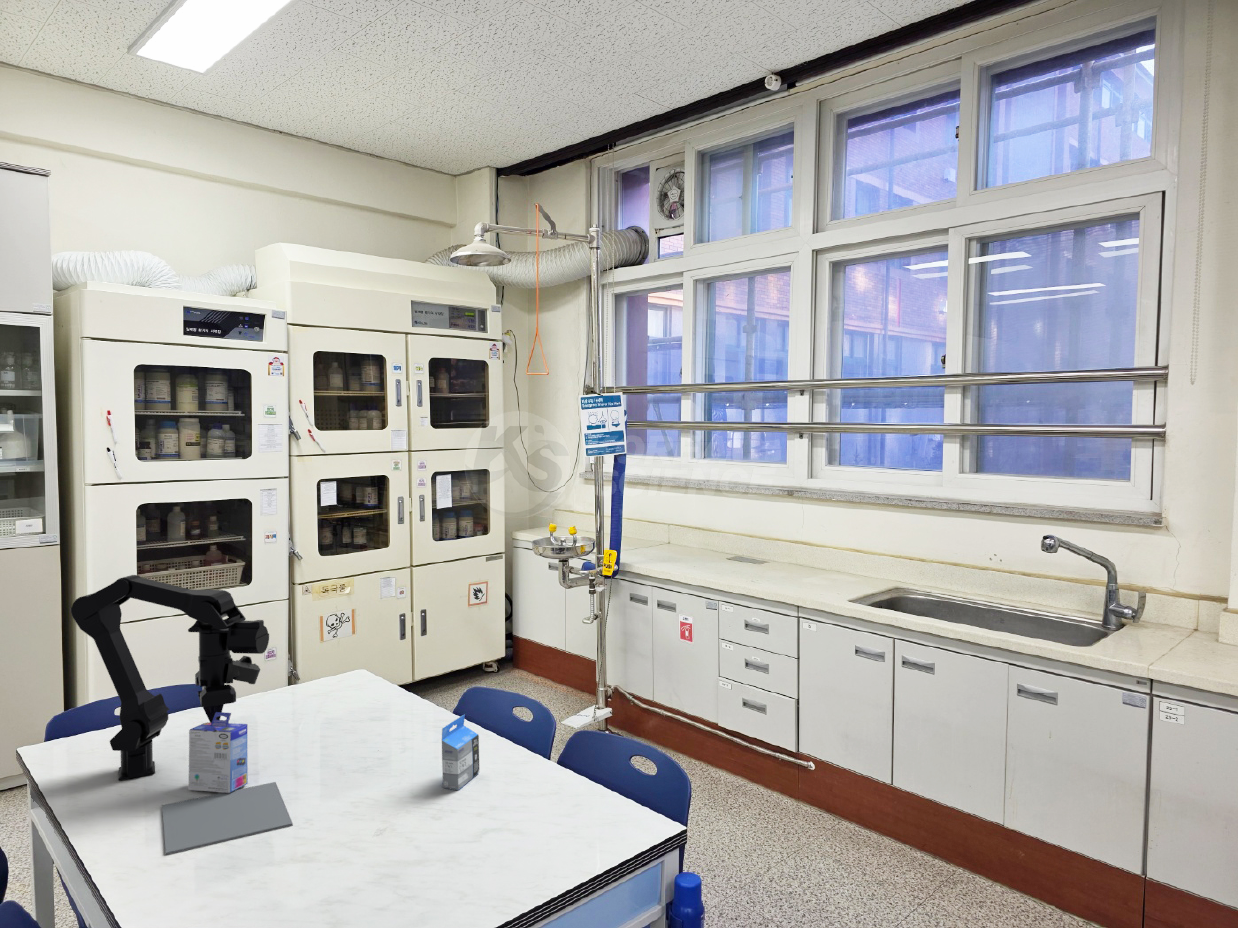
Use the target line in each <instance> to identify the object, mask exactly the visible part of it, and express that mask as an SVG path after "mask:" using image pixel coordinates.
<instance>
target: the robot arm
mask: <svg viewBox="0 0 1238 928" xmlns="http://www.w3.org/2000/svg"><path fill="white" fill-rule="evenodd" d="M130 599H135V600H138V601H143V602H147V603H151V604H154V605H155V604H156V605H159V606H163V607H167V608H172V609H176V610H178V611H181V612H183V613H184V614H186V616H188V617H189V618H192V619H193V620H196V621H195V622H194V624H193V625H192V626H191V627H189V628H188V629H187V632H188V633H198V659H197V661H198V667H199V668H198V671H197V672H196V673H195V674H194V677H195V678H194V679H195V680H194V681H195V683H194V684H195V686H196V687H200V688H202V690H199V691H197V695H198V700H199V702H200V706H201V708H203V711H204V713H205V715H206V717H207V719H208V721H209V723H212V720H213V718H214V715H215V713H216V712H223V709H224V705H227V704H229V705H230V704H234V703H236V702H237V692H236V689H235V687H233V686H232V684H233V683H234V681H236V682H237V681H238V682H243V683H248V684H249V685H256V682H257V679H258V676H259V674H260V671H261V668H260V666H259V665H257V664H256V663H253V661H252V657H250V656H249V655H248V656H247V655H243V656H242V657H241V658H239V659H236V660H233V658H232V655H231V652H232V653H233V654H250V655H251V654H252V655H254V654H256V655H257V654H258V655H259V654H260V655H263V654H264V653H265V651H266V650H267V649H268V647H269V642H270V633H269V632H268V628H267V626H265V621H264V619H256V620H246V617H245V615H244V614H243V612H241V610H240V608H239V607H238V606H237V605H236V603H235V601H234V598H233V595H232V594H231V593H230V592H229V591H227V590H223V589H208V588H207V589H191V588H185V587H182V586H179V585H178V586H177V585H173V584H170V583H165V582H161V581H158V580H152V579H149V578H145V577H141V576H140V575H137V574H131V575H127V576H123V577H120V578H118V579H116V580H115V581H114V582H112V583H111V584H109V585H107V586H105V587H104V588H102V589H99V590H98V591H96V592H93V593H90V594H86V595H83V596H79V597H78V598H76V599H75V600H74V601H73V603H72V606H70V614H71V617H72V619H73V620H74V622H75V623H76V625H77V626H78V628H79V629H80V630H81V631H82V632H83V633H85V634H86V635H88V636H89V637H90V638H92V640H93V641H94V643H95V645H96V648H97V650H98V652H99V655H100V656H101V659H102V661H103V664H104V666H105V669H106V670H107V673H108V676H109V677H110V680H111V682H112V684H113V686H114V689H115V691H116V694H117V696H118V698H119V701H120V709H119V710H120V711H119V717H118V718H119V722H120V727H121V729H120V730H119V731H118V732H117V733H116V734H115V735H114V736H113V737H112V738H111V739H110V740H109V745H110V747H111V750H112V751H115V752H116V751H117V752H118V751H119V752H120V767H118V775H117V776H118V777H117V778H118V779H117V780H118V781H122V780H128V779H129V780H130V779H133V778H139V777H144V776H150V775H154V774H156V765H155V760H153V757H154V756H153V740H154V739H155V738H157V737H159V736H160V735H161V732H162V729H164V728H165V726H166V725H167V722H168V720H169V713H168V711H170V708H169V707H168V706H167V705H166V703H165V700H164V696H163V695H162V693H158V694H156V695H154V694H153V693H151V692H150V691H149V690H148V689H147V688H146V686H145V682H144V680H143V678H142V676H141V674H140V672H139V669H138V667H137V665H136V662H135V660H134V658H133V655H132V653H131V651H130V649H129V646H128V644H127V641H126V640H125V636H124V635H123V632H122V631H121V622H122V614H123V613H122V609H121V607H120V606H121V605H122V604H124V603H126V602H128V601H129V600H130ZM225 617H226V618H225ZM223 618H224V619H223ZM230 684H231V685H230ZM221 717H222V716H219V717H217V718H216V720H221Z"/></svg>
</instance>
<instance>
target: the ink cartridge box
mask: <svg viewBox="0 0 1238 928" xmlns="http://www.w3.org/2000/svg"><path fill="white" fill-rule="evenodd" d="M231 715H232V712H223V711H222V712H216V713H215V715H214V718H213V720H212V723H210V722H204V723H201V724H199V725H197V726H194V727H192V728H190V729H189V730H188V734H189V735H188V736H189V737H188V791H198V792H199V791H200V792H211V793H212V792H213V793H231V792H233V791H234V790H238V789H241V788H242V787H245V786H247V785H248V783H249V782H248V776H249V775H248V773H249V772H248V769H249V768H248V766H249V765H248V724H247V723H235V722H234V723H229V722H230V720H231V719H230V718H231ZM219 716H221V717H225V718H226V719H225V720H223V719H220V720H216V718H217V717H219Z"/></svg>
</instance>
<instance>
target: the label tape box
mask: <svg viewBox="0 0 1238 928" xmlns="http://www.w3.org/2000/svg"><path fill="white" fill-rule="evenodd" d="M465 716H466V713H465V714H463V715H461V716H459V717H457V718H456V719H454V720H453V721H451V722H449V723H448V724H447V725H445V726H443V727H442V729H441V763H442V765H441V767H442V788H445V789H448V788H451V789H450V790H455V791H456V790H457V791H459V790H461V789H462V788H463V787H464V786H465V785H466V784H467V783H469V782H470V781H471V780H472V779H474V778H475V777H476V776H477V775H478V774H479V773H480V744H479V743H480V736H479V734H478V733H477V732H475V731H473V730H472V729H470V728H469V727H467V726H465ZM453 726H454V728H453ZM455 726H456V727H455ZM452 728H453V729H452Z"/></svg>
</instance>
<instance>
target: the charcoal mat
mask: <svg viewBox="0 0 1238 928" xmlns="http://www.w3.org/2000/svg"><path fill="white" fill-rule="evenodd" d="M287 808H288V807H286V804H285V801H284V798H283V797H282V795H281V791H280V789H279V787H278V785H277V782H276V781H273V782H267V783H263V784H258V785H254V786H250V787H249V786H248V787H244V788H238V789H236V790H234V791H233V792H231V793H223V792H218V793H214V794H210V795H205V796H204V795H203V796H201V797H200V796H199V797H195V798H191V799H184V800H180V801H176V802H171V803H166V804H162V805H161V811H162V821H163V822H162V823H163V825H162V826H163V834H164V835H163V836H164V848H165V855H166V856H167V855H172V854H177V853H181V852H185V851H188V850H193V849H197V848H202V847H206V846H211V845H214V844H219V843H223V842H227V841H231V840H236V839H240V838H245V837H248V836H253V835H257V834H261V833H265V832H270V831H274V830H275V831H276V830H278V829H283V828H287V827H292V826H293V821H292V819H291V817H290V814H289V811H288V809H287Z"/></svg>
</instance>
